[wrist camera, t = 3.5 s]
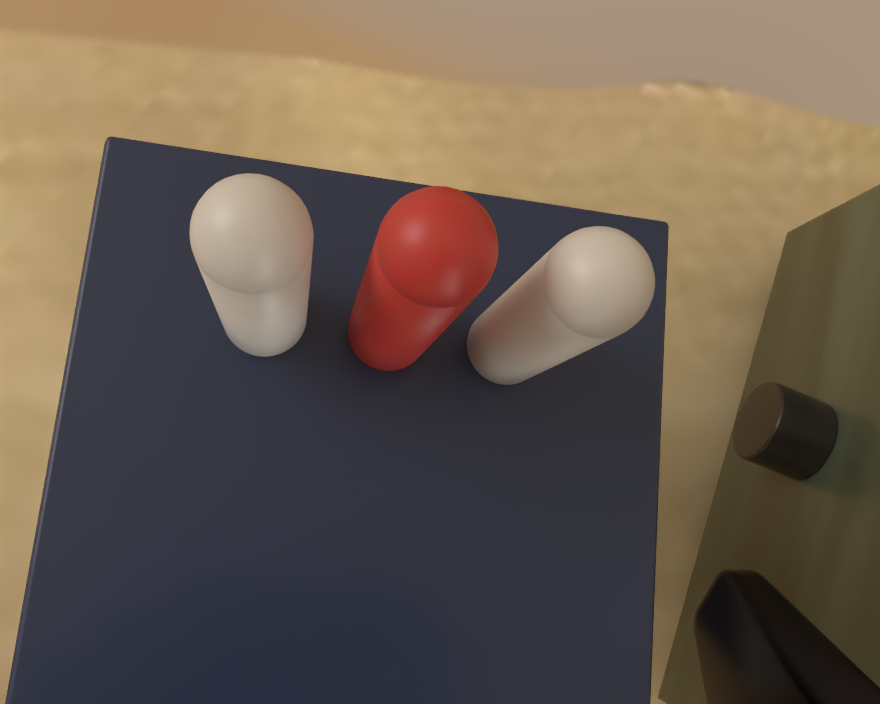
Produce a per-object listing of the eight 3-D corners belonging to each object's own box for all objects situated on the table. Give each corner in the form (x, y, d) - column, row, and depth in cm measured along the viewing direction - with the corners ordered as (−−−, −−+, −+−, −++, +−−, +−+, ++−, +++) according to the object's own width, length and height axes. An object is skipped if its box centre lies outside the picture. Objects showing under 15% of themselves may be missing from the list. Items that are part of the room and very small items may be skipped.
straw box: (409, 595, 18) (898, 1027, 3) (199, 580, 17) (-282, 1043, 3) (427, 394, 19) (885, 66, 4) (229, 372, 18) (-26, -112, 4)
